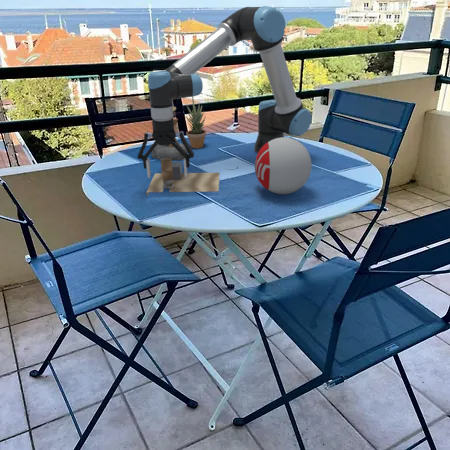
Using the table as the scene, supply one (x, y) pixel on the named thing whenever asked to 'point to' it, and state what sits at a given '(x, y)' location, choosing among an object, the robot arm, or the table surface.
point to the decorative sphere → (283, 165)
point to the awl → (167, 172)
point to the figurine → (168, 148)
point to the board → (187, 183)
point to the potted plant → (196, 128)
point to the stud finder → (177, 170)
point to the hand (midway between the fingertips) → (167, 176)
